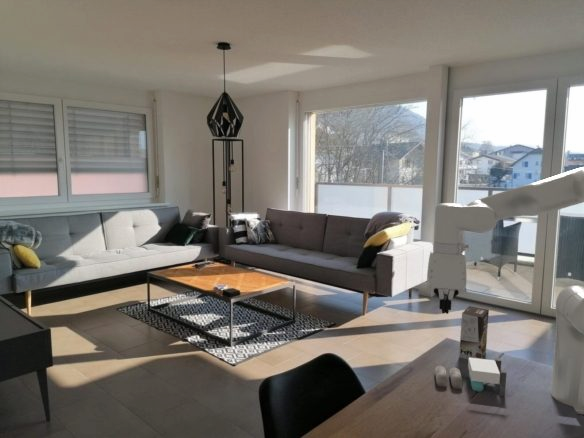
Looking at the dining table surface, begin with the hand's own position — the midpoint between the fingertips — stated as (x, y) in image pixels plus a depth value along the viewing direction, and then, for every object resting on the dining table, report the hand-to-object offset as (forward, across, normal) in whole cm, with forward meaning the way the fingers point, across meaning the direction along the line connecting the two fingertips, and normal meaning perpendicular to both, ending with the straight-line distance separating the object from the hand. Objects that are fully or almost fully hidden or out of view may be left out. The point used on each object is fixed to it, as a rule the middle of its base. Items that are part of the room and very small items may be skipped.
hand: (444, 311), depth 121 cm
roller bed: (+22, -7, 0) cm, 23 cm away
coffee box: (+22, -11, -20) cm, 32 cm away
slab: (+18, -11, 0) cm, 21 cm away
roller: (+20, -9, 0) cm, 22 cm away
